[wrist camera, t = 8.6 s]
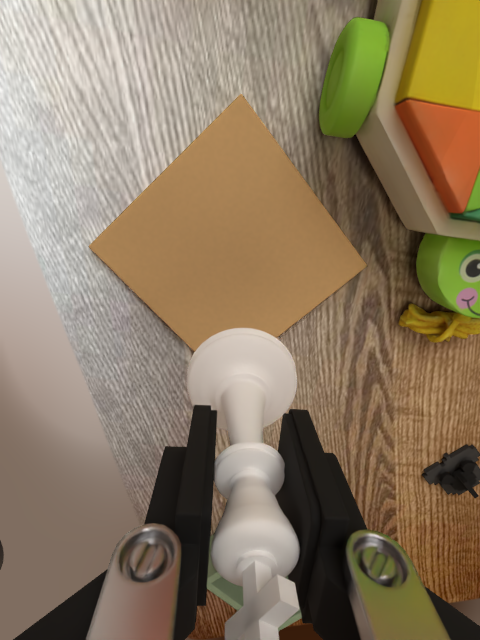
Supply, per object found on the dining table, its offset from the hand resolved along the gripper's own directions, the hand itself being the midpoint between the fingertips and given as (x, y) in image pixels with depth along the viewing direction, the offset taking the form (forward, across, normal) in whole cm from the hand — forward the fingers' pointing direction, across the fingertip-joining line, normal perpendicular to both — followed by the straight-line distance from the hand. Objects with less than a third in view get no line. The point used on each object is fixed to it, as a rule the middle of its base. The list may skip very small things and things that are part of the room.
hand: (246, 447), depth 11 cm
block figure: (+19, -25, +18) cm, 36 cm away
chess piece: (+5, 0, 0) cm, 5 cm away
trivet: (+19, +1, -4) cm, 19 cm away
